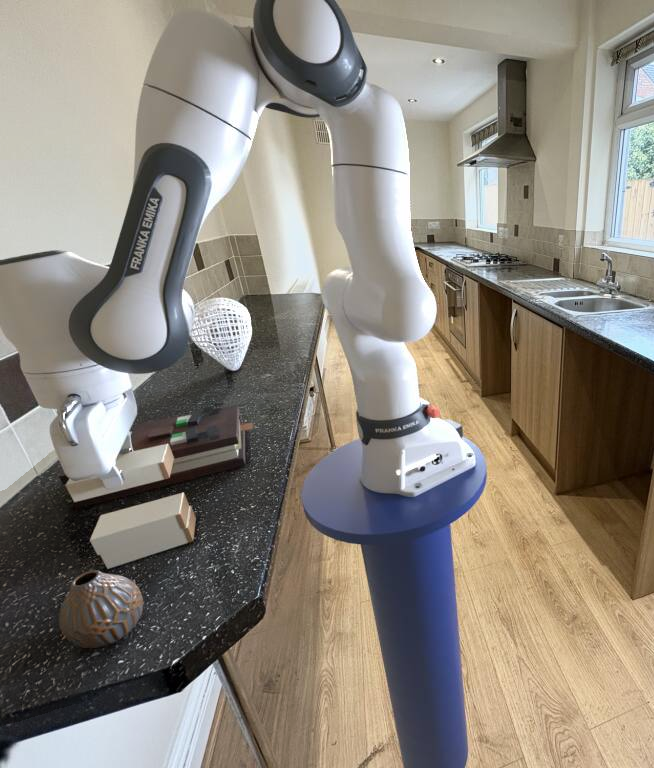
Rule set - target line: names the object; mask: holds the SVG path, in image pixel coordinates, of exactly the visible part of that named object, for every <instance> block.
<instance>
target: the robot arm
mask: <svg viewBox="0 0 654 768" xmlns="http://www.w3.org/2000/svg"><path fill="white" fill-rule="evenodd" d="M252 13H253V15H252V20H253V21H252V22H253V23H252V24H253V27H251V25H249V26H239V25H236V24H231V23H230V22H229V21H227V20H225V19H224V18H222V17H220V16H219V15H217V14H215V13H212V12H210V11H208V10H204V9H199V8H194V7H186V8H185V7H184V8H182V9H179V10H178V11H176V12H174V14H173V15H171V18H170V19H169V21H168V23H167V24H166V26H165V28H164V29H163V31H162V33H161V35H160V37H159V39H158V42H157V43H156V46H155V48H154V50H153V52H152V55H151V57H150V61H149V64H148V66H147V70H146V72H145V75H144V76H145V77H144V80H143V83H142V88H141V91H140V96H139V101H138V105H137V113H136V121H135V122H136V123H135V137H134V139H135V140H134V163H133V166H134V167H133V178H132V179H133V180H132V188H131V194H130V197H129V201H128V204H127V207H126V211H125V215H124V219H123V221H122V226H121V229H120V231H119V235H118V239H117V241H116V245H115V248H114V252H113V256H112V259H111V262H110V265H109V266H106V265H103V264H100V263H96V262H94V261H91V260H88V259H85V258H83V257H80V256H79V255H77V254H75V253H73V252H71V251H68V250H63V249H62V250H61V249H60V250H59V249H56V250H55V249H54V250H47V251H45V250H44V251H39V252H33V253H28V254H23V255H22V254H21V255H19V256H12V257H8V258H4V259H0V330H1V331H2V333H3V335H4V337H5V338H6V339H7V340H8V341H9V342H10V343H11V344H12V345H13V346H14V348H15V349H16V351H17V353H18V355H19V356H18V357H19V365H20V370H21V372H22V375H23V376H24V378H25V381H26V382H27V384H28V386H29V388H30V391H31V392H32V394H33V397H34V398H35V401H36V402H37V405H38V406H39V407H40V408H43V409H49V410H56V414H57V415H56V416H55V417H54V418H53V420H52V421H51V423H50V424H49V437H50V440H51V443H52V445H53V448H54V451H55V453H56V456H57V459H58V461H59V463H60V465H61V468H62V471H63V470H64V473H65V474H66V476H67V477H68V478H70V479H71V480H73V481H79V480H84V479H89V478H93V477H98V478H99V479H100V480H102V483H103V485H104V487H105V488H106V489H109V490H110V489H114V488H118V487H121V486H122V485H123V482H124V480H125V478H124V476H123V474H122V471H121V470H118V469H117V467H116V466H115V464H116V462H115V460H116V458H117V456H118V455H119V454H124V453H128V452H133V448H132V444H131V435H130V431H129V430H130V428H131V426H132V425H134V422H135V420H136V418H137V416H138V405H137V401H136V397H135V394H134V390H133V386H132V385H133V384H132V382H131V378H130V375H145V374H151V373H152V374H153V373H156V372H160V371H163V370H165V369H167V368H169V367H171V366H173V365H174V364H176V363H177V362H178V361H179V360H180V359H182V357H183V356H184V354H185V353H186V351H187V349H188V346H189V343H190V335H189V334H190V331H191V329H192V326H193V323H194V320H195V313H196V312H195V308H196V306H195V303H194V301H193V299H192V297H191V295H190V294H189V293H188V292H187V291H186V289H184V286H185V282H186V279H187V276H188V272H189V269H190V265H191V262H192V257H193V254H194V252H195V251H194V250H195V248H196V244H197V241H198V237H199V234H200V231H201V228H202V227H203V224H204V222H205V220H206V219H207V217H208V216H209V214H210V212H211V211H212V210H213V209H214V207H215V206H216V205H217V204H218V203H219V202H220V201H221V200H223V198H224V197H225V196H226V195H227V194H228V193H229V192H230V191H231V190H232V188H233V187H234V185H235V183H236V182H237V180H238V179H239V176H240V175H241V172H242V170H243V168H244V166H245V164H246V162H247V159H248V158H249V157H248V156H249V154H250V151H251V147H252V143H253V141H254V137H255V134H256V129H257V126H258V122H259V119H260V117H261V115H262V112H263V111H264V109H269V110H272V111H278V112H281V113H285V114H289V115H292V116H294V117H295V116H296V117H300V118H305V119H316V118H321V119H322V121H323V123H324V125H325V127H326V129H327V132H328V138H329V141H330V154H331V155H330V156H331V157H330V158H331V175H332V177H331V178H332V190H333V191H332V193H333V195H332V196H333V212H334V223H335V226H336V229H337V231H338V233H339V234H340V235H341V237H342V240H343V243H344V245H345V248H346V252H347V255H348V259H349V262H350V264H348V265H344V266H341V267H339V268H336V269H333V270H332V271H331V272H330V273H328V274H327V275H326V277H325V278H324V280H323V282H322V284H321V289H320V295H321V300H322V304H323V306H324V307H325V309H326V310H327V312H328V314H329V316H330V318H331V321H332V323H333V325H334V329H335V331H336V334H337V337H338V340H339V342H340V346H341V348H342V350H343V353H344V356H345V358H346V361H347V364H348V367H349V371H350V374H351V380H352V384H353V385H352V386H353V390H354V394H355V402H356V407H357V408H356V411H355V416H356V420H355V422H356V427H357V428H356V429H357V433H358V437H359V438H360V440H361V441H362V467H361V473H360V481H361V483H362V484H363V486H365V487H366V488H367V489H369V490H371V491H374V492H378V493H390V494H400V495H403V496H406V497H415V496H417V495H419V494H421V493H423V492H425V491H427V490H429V489H431V488H433V487H435V486H437V485H439V484H441V483H443V482H445V481H447V480H449V479H451V478H453V477H455V476H457V475H459V474H461V473H463V472H465V471H467V470H469V469H471V468H472V467H474V466H475V464H476V459H475V455H474V452H473V451H472V449H471V448H470V447H469V446H468V445H467V444H466V443H465V442H464V441H463V440H461V438H462V437H464V434H463V433H464V432H463V425H462V424H459V423H458V422H456V421H453V420H451V419H448V418H446V419H442V418H439V416H440V415H441V414H440V413H441V411H440V410H439V408H437V406H435V405H431V403H430V402H429V401H427V400H426V399H424V398H422V396H420V389H419V387H420V386H419V379H418V378H419V377H418V369H417V364H416V361H415V359H414V358H413V356H412V355H411V353H410V352H409V350H408V347H407V346H406V344H405V343H408V344H409V343H414V342H418V341H420V340H422V339H423V338H424V337H425V336H427V335H428V334H429V332H430V331H431V330H432V328H433V327H434V324H435V322H436V319H437V315H438V314H437V312H438V309H437V308H438V306H437V301H436V298H435V296H434V293H433V292H432V290H431V288H430V287H429V286H428V285H427V283H426V282H425V281H426V280H424V277H423V275H422V272H421V269H420V266H419V262H418V259H417V255H416V250H415V246H414V242H413V237H412V231H411V229H412V228H411V211H410V210H411V209H410V208H411V207H410V205H411V204H410V202H411V201H410V200H411V199H410V161H409V158H410V157H409V148H408V147H409V145H408V139H407V131H406V125H405V120H404V115H403V110H402V108H401V107H402V106H401V105H400V103H399V102H398V100H397V99H396V98H395V96H394V95H392V93H390V92H389V91H387V89H384V88H383V87H381V86H379V85H376V84H373V83H370V82H367V78H368V66H367V64H366V62H365V60H364V58H363V55H362V53H361V51H360V49H359V47H358V45H357V42H356V41H355V37H354V35H353V31H352V29H351V26H350V24H349V22H348V20H347V18H346V16H345V14H344V12H343V10H342V9H341V7H340V6H339V4H338V3H337V1H336V0H255V3H254V7H253V12H252ZM359 438H358V439H359Z"/></svg>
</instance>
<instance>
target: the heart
mask: <svg viewBox="0 0 654 768" xmlns="http://www.w3.org/2000/svg"><path fill="white" fill-rule="evenodd" d="M223 309H224V310H223ZM195 312H196V313H195V320H194V323H193V326H192V329H191V331H190V334H189V338H190V339H191V341H192V342H193V343H194V344H195V345H196V346H197V347H198V348H199V349H201V350H202V351H203V352H205V354H207V355H209V356H210V357H211V358H213V359H214V360H216V361H217V362H218V363H219V364H220V365H222V366H223V367H224V368H225V369H227V370H229V371H232V372H234V371H238V370H239V369H240V368H241V366H242V364H243V361H244V359H245V356H246V354H247V351H248V349H249V346H250V342H251V340H252V335H253V327H252V320H251V319H252V318H251V314H250V312H249V310H248V308H247V307H246V306H244V305H243V304H242V303H241V302H239V301H237V300H234V299H232V298H227V297H214V298H209V299H205V300H203V301H202V302H200V303H199V304H197V305H196V306H195ZM206 315H207V316H206ZM234 315H235V316H234ZM201 316H202V318H201ZM208 320H209V322H208ZM203 321H204V322H203ZM226 321H227V322H226ZM231 321H232V322H231ZM235 321H236V322H235ZM213 323H214V324H213ZM232 327H233V329H232ZM236 327H237V328H236ZM220 328H221V329H220ZM228 329H229V330H228ZM211 330H212V332H211ZM215 330H217V331H215ZM234 333H235V335H234ZM229 334H230V335H229ZM212 335H213V336H214V337H213V336H212ZM217 335H218V337H217ZM214 344H216V345H214ZM219 344H220V345H219ZM232 347H233V348H232Z"/></svg>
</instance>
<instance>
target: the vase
mask: <svg viewBox="0 0 654 768" xmlns="http://www.w3.org/2000/svg"><path fill="white" fill-rule="evenodd" d="M143 611H144V598H143V594H142V592H141V590H140V588H139V586H138V585H137V584H136V583H135V582H134V581H132V580H131V579H129V578H128V577H125V576H124V575H119V574H113V573H105V572H102V571H101V570H97V569H93V570H89V571H85V572H83V573H81V574H79V575H78V576H76V577H74V579H73V580H72V581H71V583H70V586H69V591H68V593H67V595H66V596H65V598H64V600H63V602H62V604H61V606H60V609H59V612H58V624H59V629H60V631H61V633H62V635H63V636H64V638H65V639H66V640H67V641H69V642H70V643H71V644H72V645H75V646H76V647H80V648H85V649H95V648H101V647H102V648H103V647H105V646H109V645H111V644H115V643H116V642H118V641H119V640H122V638H124V637H125V636H127V635H128V634H129V633H130V632H131V631H132V630H133V629H134V627H135V626H136V625H137V623H138V622H139V621H140V618H141V617H142V614H143Z"/></svg>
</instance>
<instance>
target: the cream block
mask: <svg viewBox="0 0 654 768" xmlns="http://www.w3.org/2000/svg"><path fill="white" fill-rule="evenodd" d="M173 461H174V456H173V454H172V451H171V448H170V446H169V444H164V445H160V446H155V447H151V448H146V449H142V450H137V451H133V452H128V453H124V454H119V455H118V456H117V458H116V460H115V462H116V464H115V466H116V467H117V469H118V470H121V471H122V474H123V476H124V478H125V480H124V482H123V485H122V486H121V487H118V488H114V489H110V490H109V489H106V488H105V487H104V485H103V483H102V480H100V479H99V478H98V477H93V478H89V479H84V480H79V481H73V480H71V479H69V480H68V482H67V484H65V487H66V489H67V491H69V492H68V493H69V495H70V498H71V500H72V499H73V501H74V502H77V501H81V500H85V499H89V498H93V497H97V496H101V495H105V494H109V493H113V492H117V491H120V490H124V489H128V488H132V487H136V486H140V485H144V484H148V483H152V482H156V481H160V480H164V479H168V478H170V474H171V470H172V465H173Z"/></svg>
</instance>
